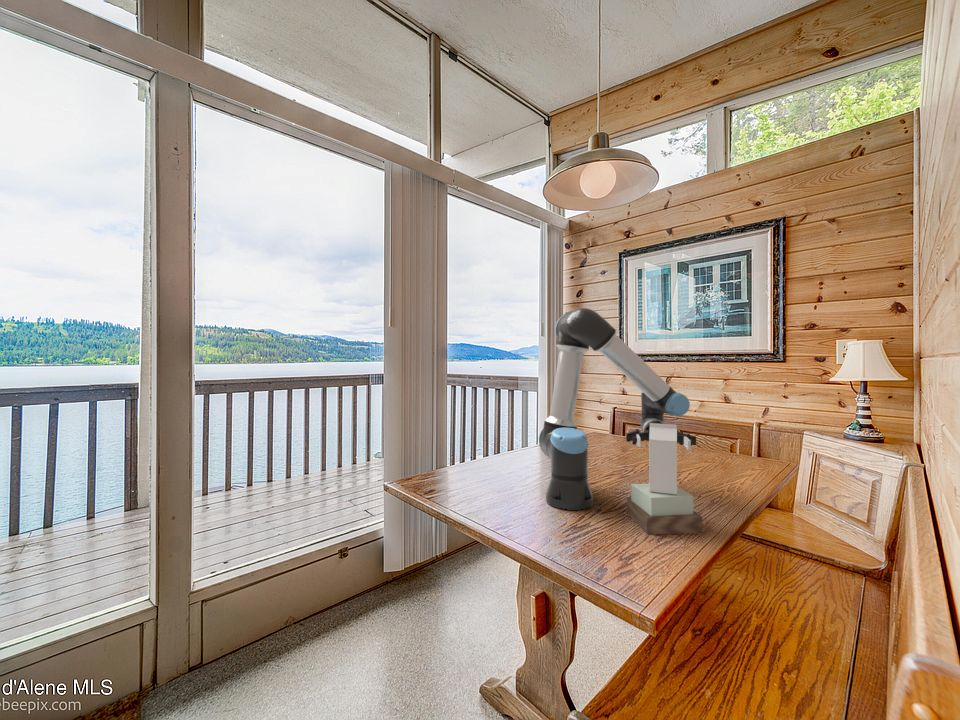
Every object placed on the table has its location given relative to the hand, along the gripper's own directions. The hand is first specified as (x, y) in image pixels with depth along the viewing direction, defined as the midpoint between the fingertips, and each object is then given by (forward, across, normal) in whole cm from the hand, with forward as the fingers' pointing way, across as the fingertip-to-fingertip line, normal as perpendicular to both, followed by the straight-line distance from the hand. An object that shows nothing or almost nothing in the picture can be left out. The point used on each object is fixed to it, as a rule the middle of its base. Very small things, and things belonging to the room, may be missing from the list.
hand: (663, 444), depth 122 cm
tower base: (+4, +1, -22) cm, 23 cm away
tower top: (+4, +1, -17) cm, 18 cm away
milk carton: (+4, +1, -13) cm, 13 cm away
